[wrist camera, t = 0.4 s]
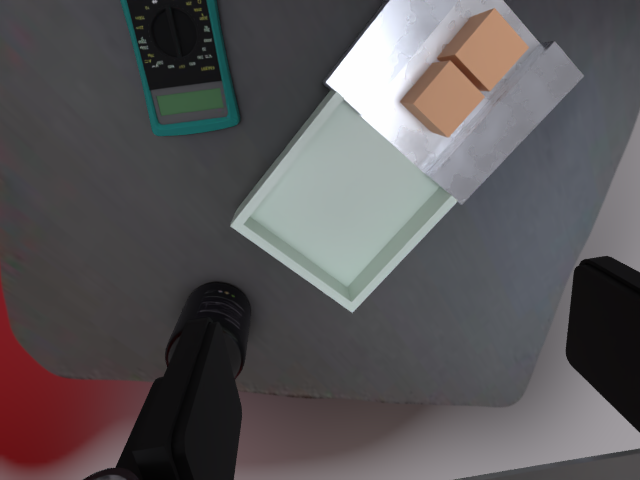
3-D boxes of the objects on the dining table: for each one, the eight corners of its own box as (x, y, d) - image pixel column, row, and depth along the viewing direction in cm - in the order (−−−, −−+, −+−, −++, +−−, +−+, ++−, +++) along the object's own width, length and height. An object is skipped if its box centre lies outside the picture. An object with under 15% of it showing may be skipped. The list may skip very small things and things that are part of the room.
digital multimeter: (206, -72, 32) (198, -87, 29) (242, 125, 37) (239, 128, 34) (111, -60, 31) (94, -74, 29) (161, 136, 37) (151, 140, 34)
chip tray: (330, 90, 36) (336, 91, 32) (438, 187, 40) (458, 200, 35) (236, 209, 39) (230, 226, 35) (345, 288, 43) (352, 312, 39)
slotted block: (433, -62, 33) (452, -81, 29) (554, 76, 37) (584, 75, 33) (321, 82, 36) (325, 82, 32) (445, 193, 40) (461, 205, 37)
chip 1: (471, 16, 33) (494, 7, 29) (502, 51, 34) (529, 47, 30) (436, 57, 34) (455, 54, 30) (468, 90, 35) (489, 91, 31)
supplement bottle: (239, 344, 45) (224, 431, 34) (178, 326, 43) (140, 410, 32) (261, 292, 43) (252, 366, 31) (197, 271, 41) (164, 340, 30)
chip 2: (432, 63, 34) (450, 60, 30) (464, 95, 35) (485, 96, 31) (399, 101, 35) (413, 103, 31) (431, 132, 36) (448, 137, 32)
